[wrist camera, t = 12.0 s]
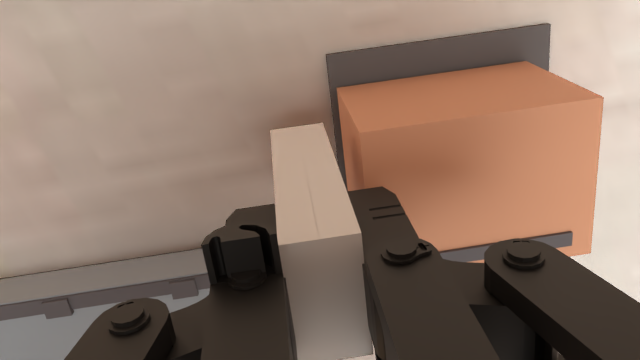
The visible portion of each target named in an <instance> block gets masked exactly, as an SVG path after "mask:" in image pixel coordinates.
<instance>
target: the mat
mask: <svg viewBox="0 0 640 360" xmlns="http://www.w3.org/2000/svg"><path fill="white" fill-rule="evenodd" d="M550 26H551V24H541V25H534V26H527V27H519V28H512V29H505V30H498V31H491V32H483V33H476V34H469V35H462V36H455V37H447V38H440V39H433V40H426V41H419V42H412V43H404V44H397V45H390V46H383V47H376V48H368V49H361V50H354V51H347V52H340V53H332V54H326V60H327V68H328V77H329V86H330V95H331V104H332V112H333V121H334V130H335V139H336V147H337V156H338V165H339V170H340V173H341V176H342V179H343V182H344V184H345V187H346V190H347V191H348V189H347V180H346V170H345V161H344V152H343V143H342V134H341V124H340V115H339V106H338V97H337V88H339V87H346V86H353V85H360V84H367V83H374V82H381V81H388V80H395V79H402V78H409V77H416V76H423V75H430V74H437V73H444V72H452V71H459V70H466V69H473V68H480V67H487V66H494V65H501V64H508V63H515V62H522V61H527V62H529V63H531V64H534V65H536V66H538V67H540V68H542V69H544V70H546V71H549V49H550Z"/></svg>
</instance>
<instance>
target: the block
mask: <svg viewBox="0 0 640 360" xmlns="http://www.w3.org/2000/svg"><path fill="white" fill-rule="evenodd" d="M337 97H338V106H339V115H340V124H341V134H342V143H343V152H344V161H345V170H346V180H347V189H348V191H354V190H360V189H367V188H374V187H381V186H383V187H384V188H386V189H388V190H389V191H391V192H393V193H395V194H396V196H397V198H398V200H399V202H400V203H401V206H402V207H403V209H404V211H405V213H406V215H407V216H408V218H409V220H410V222H411V224H412V226H413V228H414V230H415V231H416V233H417V235H418V237H419V238H420V239H423V240H425V241H427V242H430V243H431V244H432V245H433V246H434V247H435V248H436V249H437V250H438V252H439V253H440V255H441V257H442V259H446V260H450V261H457V262H473V263H484V252H485V251H486V250H487V249H488V248H489V246H491V245H493V244H495V243H497V242H499V241H504V240H509V239H515V238H520V239H521V238H525V239H531V240H535V241H540V242H543V243H546V244H548V245H550V246H552V247H554V248H556V249H558V250H559V251H561V252H562V253H564V254H565V255H567V256H568V257H569V256H576V255H582V254H588V253H591V243H592V231H593V219H594V207H595V195H596V183H597V171H598V159H599V147H600V135H601V123H602V111H603V99H604V97H602V96H600V95H598V94H595V93H593V92H591V91H589V90H587V89H585V88H583V87H580V86H578V85H576V84H574V83H572V82H570V81H568V80H566V79H563V78H561V77H559V76H557V75H555V74H553V73H551V72H549V71H546V70H544V69H542V68H540V67H538V66H536V65H534V64H531V63H529V62H527V61H522V62H515V63H508V64H501V65H494V66H487V67H480V68H473V69H466V70H459V71H452V72H444V73H437V74H430V75H423V76H416V77H409V78H402V79H395V80H388V81H381V82H374V83H367V84H360V85H353V86H346V87H339V88H337Z"/></svg>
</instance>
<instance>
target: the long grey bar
mask: <svg viewBox="0 0 640 360" xmlns="http://www.w3.org/2000/svg"><path fill="white" fill-rule="evenodd" d="M209 291H210V281H209V277H208V272H207V268H206V264H205V259H204V255H203V250H202V248H201V249H195V250H188V251H182V252H175V253H168V254H162V255H155V256H149V257H142V258H136V259H129V260H123V261H116V262H109V263H103V264H96V265H90V266H83V267H77V268H70V269H64V270H57V271H50V272H44V273H37V274H31V275H24V276H18V277H11V278H5V279H0V360H64V359H65V357H66V356H67V355H68V354H69V352H70V351H71V350H72V348H73V347H74V346H75V345H76V343H77V342H78V341H79V339H80V338H81V337H82V335H83V334H84V333H85V332H86V330H87V329H88V328H89V326H90V325H91V324H92V323H93V321H94V320H95V319H96V318H98V317H99V316H100V315H101V314H102V313H103V312H104V311H106V310H108V309H110V308H111V307H113V306H115V305H116V304H119V303H121V302H125V301H127V300H131V299H139V298H152V299H158V300H160V301H162V302H164V303H165V304H166V305H167V307H168V310H169V313H171V312H174V311H177V310H180V309H182V308H185V307H188V306H190V305H192V304H195V303H197V302H199V301H200V300H202V299H204V298H205V297H207V296H208V295H209Z"/></svg>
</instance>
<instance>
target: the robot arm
mask: <svg viewBox="0 0 640 360" xmlns="http://www.w3.org/2000/svg"><path fill="white" fill-rule="evenodd" d="M270 135H271V151H272V166H273V181H274V197H275V204H270V205H263V206H256V207H249V208H242V209H236V210H235V211H234V212H233V213H232V214H231V216H230V217H229V218H228V219H227V220H226V226H224V227H222V228H219V229H217V230H215V231H213V232H212V233H211V234H209V235H208V236H207V237H206V238H205V239H204V241H203V243H202V245H201V246H202V250H203V255H204V259H205V264H206V268H207V272H208V277H209V281H210V291H209V295H208V296H207V297H205V298H204V299H202V300H200V301H199V302H197V303H195V304H192V305H190V306H188V307H185V308H182V309H180V310H177V311H174V312H171V313H169V310H168V307H167V305H166V304H165V303H164V302H162V301H160V300H158V299H152V298H139V299H131V300H127V301H125V302H121V303H119V304H116V305H115V306H113V307H111V308H110V309H108V310H106V311H104V312H103V313H102V314H101V315H100V316H99V317H98V318H96V319H95V320H94V321H93V323H92V324H91V325H90V326H89V328H88V329H87V330H86V332H85V333H84V334H83V335H82V337H81V338H80V339H79V341H78V342H77V343H76V345H75V346H74V347H73V348H72V350H71V351H70V352H69V354H68V355H67V356H66V357H65V359H64V360H340V359H346V358H352V357H359V356H365V355H371V354H373V346H372V341H373V345H374V348H375V355H376V360H640V303H639V302H637V301H636V300H634V299H633V298H631V297H630V296H628V295H627V294H625V293H624V292H622V291H621V290H619V289H617V288H616V287H614V286H613V285H611V284H610V283H608V282H607V281H605V280H604V279H602V278H601V277H599V276H597V275H596V274H594V273H593V272H591V271H590V270H588V269H587V268H585V267H584V266H582V265H581V264H579V263H577V262H576V261H574V260H573V259H571V258H570V257H568V256H567V255H565V254H564V253H562V252H561V251H559V250H558V249H556V248H554V247H552V246H550V245H548V244H546V243H543V242H540V241H535V240H531V239H525V238H521V239H520V238H515V239H509V240H504V241H499V242H497V243H495V244H493V245H491V246H489V248H488V249H487V250H486V251H485V252H484V263H473V262H457V261H450V260H446V259H442V257H441V255H440V253H439V252H438V250H437V249H436V248H435V247H434V246H433V245H432V244H431V243H430V242H427V241H425V240H423V239H420V238H419V237H418V235H417V233H416V231H415V230H414V228H413V226H412V224H411V222H410V220H409V218H408V216H407V215H406V213H405V211H404V209H403V207H402V206H401V203H400V202H399V200H398V198H397V196H396V194H395V193H393V192H391V191H389V190H388V189H386V188H384V187H383V186H381V187H374V188H367V189H360V190H354V191H347V190H346V187H345V184H344V182H343V179H342V176H341V173H340V170H339V167H338V165H337V162H336V159H335V156H334V153H333V150H332V147H331V145H330V142H329V139H328V136H327V133H326V130H325V127H324V125H323V123H316V124H309V125H302V126H295V127H288V128H281V129H274V130H270ZM559 353H560V354H559Z"/></svg>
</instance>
